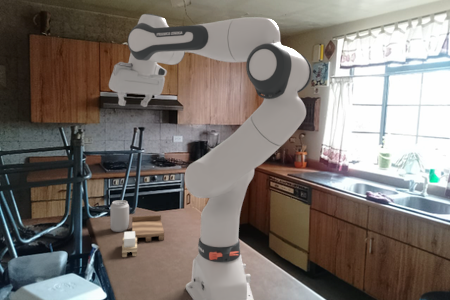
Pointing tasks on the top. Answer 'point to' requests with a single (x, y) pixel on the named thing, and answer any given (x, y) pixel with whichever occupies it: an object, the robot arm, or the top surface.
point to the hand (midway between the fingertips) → (132, 105)
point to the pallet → (129, 249)
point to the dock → (148, 227)
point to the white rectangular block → (129, 239)
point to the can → (119, 216)
